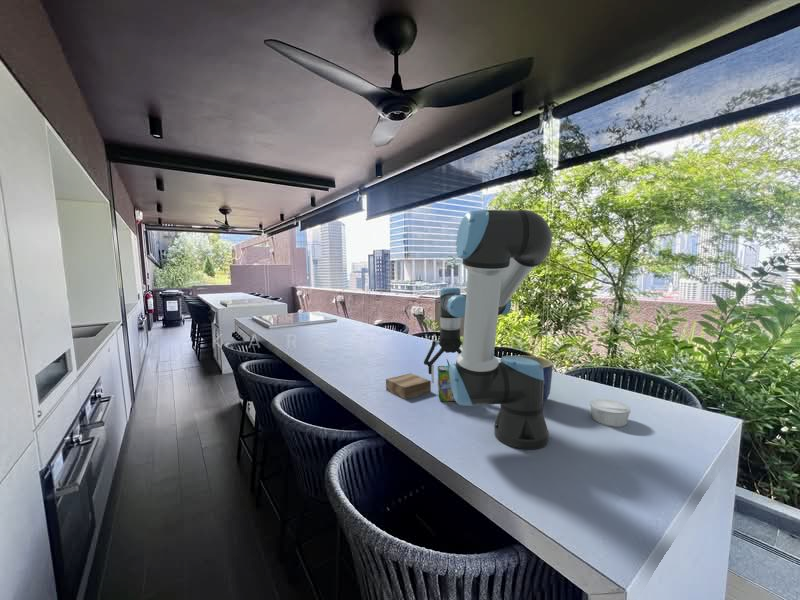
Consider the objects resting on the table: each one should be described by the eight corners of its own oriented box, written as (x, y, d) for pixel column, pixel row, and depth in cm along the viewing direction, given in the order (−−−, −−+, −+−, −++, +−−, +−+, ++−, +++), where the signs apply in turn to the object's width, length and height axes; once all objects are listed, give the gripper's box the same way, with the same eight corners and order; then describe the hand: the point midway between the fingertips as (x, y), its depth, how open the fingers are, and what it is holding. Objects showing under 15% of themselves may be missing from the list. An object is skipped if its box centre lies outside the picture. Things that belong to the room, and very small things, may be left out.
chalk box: (464, 401, 128) (464, 363, 127) (439, 402, 128) (439, 363, 127) (460, 393, 137) (460, 356, 136) (437, 393, 138) (437, 357, 136)
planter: (499, 405, 124) (499, 364, 123) (508, 390, 139) (508, 353, 138) (550, 413, 117) (551, 369, 115) (553, 397, 132) (554, 358, 130)
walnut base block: (430, 392, 139) (430, 380, 139) (405, 400, 131) (404, 387, 131) (410, 384, 150) (410, 373, 149) (386, 391, 142) (385, 379, 142)
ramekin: (609, 431, 104) (610, 414, 103) (581, 416, 115) (581, 400, 114) (638, 426, 107) (639, 409, 106) (608, 412, 118) (608, 397, 117)
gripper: (482, 326, 133) (482, 380, 135) (418, 326, 136) (418, 378, 138) (485, 330, 125) (484, 386, 127) (416, 329, 128) (417, 385, 130)
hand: (450, 382), depth 132 cm, fingers open, 13 cm apart
